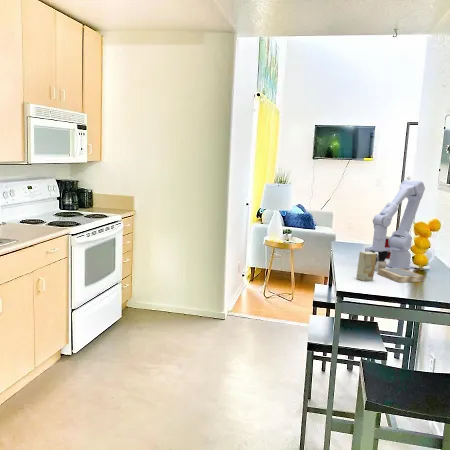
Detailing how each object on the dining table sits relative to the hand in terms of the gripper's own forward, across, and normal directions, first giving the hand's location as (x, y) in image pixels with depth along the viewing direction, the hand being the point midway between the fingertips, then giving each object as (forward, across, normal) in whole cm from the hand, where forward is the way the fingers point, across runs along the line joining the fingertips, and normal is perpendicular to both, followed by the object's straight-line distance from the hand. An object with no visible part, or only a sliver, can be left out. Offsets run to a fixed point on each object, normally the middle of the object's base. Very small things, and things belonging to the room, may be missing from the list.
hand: (376, 266), depth 219 cm
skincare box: (+2, +19, +15) cm, 24 cm away
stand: (+1, -1, +15) cm, 15 cm away
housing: (+2, 0, 0) cm, 2 cm away
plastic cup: (+2, -25, -22) cm, 33 cm away
